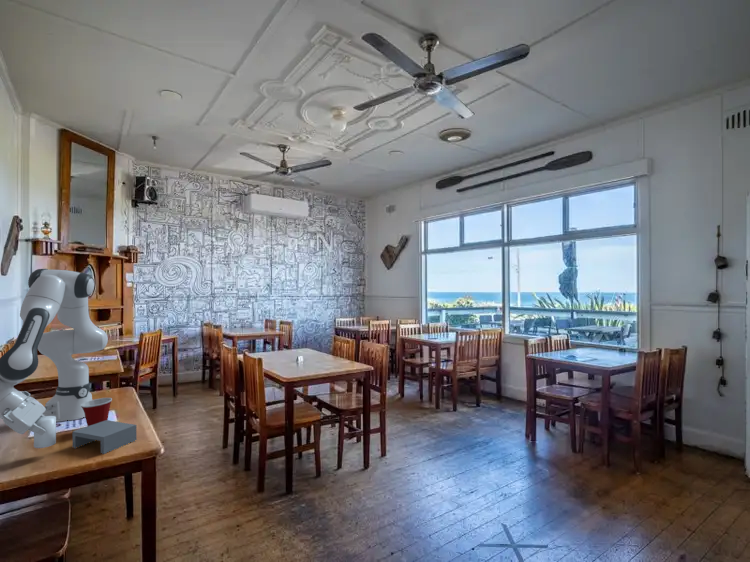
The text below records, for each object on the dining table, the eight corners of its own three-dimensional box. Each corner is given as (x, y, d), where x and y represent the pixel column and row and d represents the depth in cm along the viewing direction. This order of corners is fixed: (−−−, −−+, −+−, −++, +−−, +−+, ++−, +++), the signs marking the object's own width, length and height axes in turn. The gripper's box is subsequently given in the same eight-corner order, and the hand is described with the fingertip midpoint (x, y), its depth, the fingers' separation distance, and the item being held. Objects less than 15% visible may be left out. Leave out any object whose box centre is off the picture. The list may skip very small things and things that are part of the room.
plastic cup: (84, 427, 172) (84, 398, 172) (114, 424, 176) (114, 396, 176) (76, 436, 161) (76, 406, 161) (109, 433, 166) (109, 403, 165)
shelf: (72, 447, 151) (72, 431, 151) (106, 435, 163) (106, 420, 163) (103, 454, 145) (103, 437, 145) (136, 440, 158) (136, 424, 158)
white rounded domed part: (29, 446, 142) (29, 420, 141) (47, 440, 147) (47, 415, 147) (42, 449, 140) (42, 422, 140) (60, 442, 146) (60, 416, 146)
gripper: (8, 406, 131) (47, 432, 135) (28, 390, 149) (61, 413, 154) (-10, 422, 129) (30, 448, 134) (12, 404, 147) (46, 426, 152)
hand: (47, 429), depth 144 cm, fingers closed on white rounded domed part, 6 cm apart
